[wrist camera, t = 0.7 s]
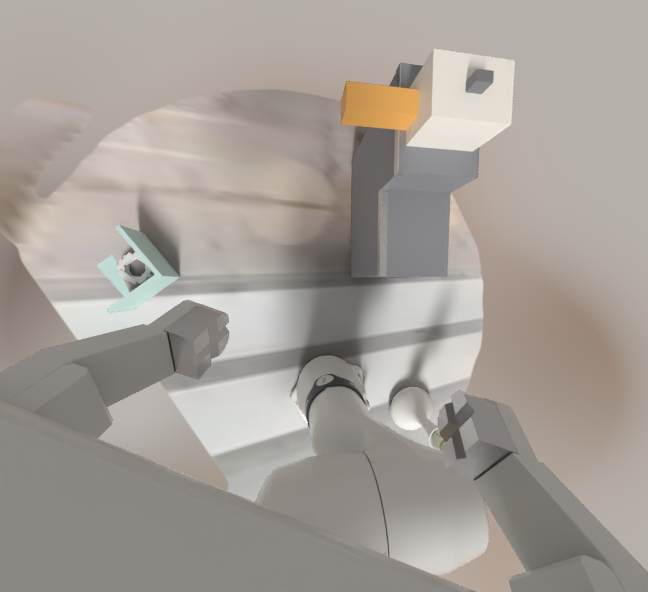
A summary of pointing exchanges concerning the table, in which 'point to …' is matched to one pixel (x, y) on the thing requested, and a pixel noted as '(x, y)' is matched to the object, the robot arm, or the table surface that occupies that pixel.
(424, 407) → the flower in vase
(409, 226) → the stand
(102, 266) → the mint green angled piece
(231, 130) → the table surface
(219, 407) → the table surface
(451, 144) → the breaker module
